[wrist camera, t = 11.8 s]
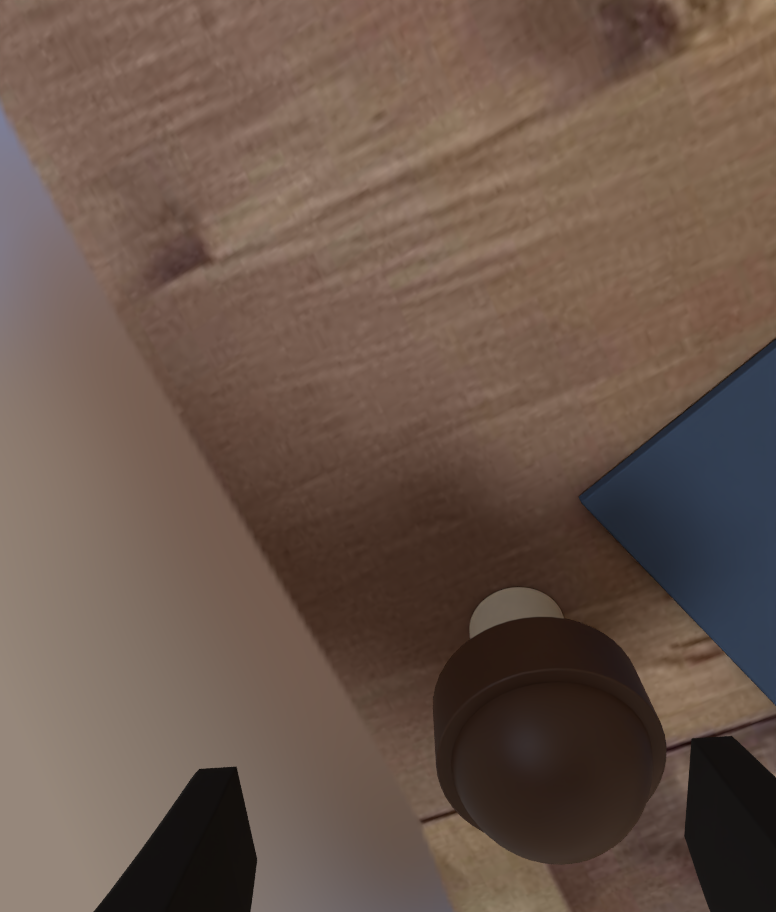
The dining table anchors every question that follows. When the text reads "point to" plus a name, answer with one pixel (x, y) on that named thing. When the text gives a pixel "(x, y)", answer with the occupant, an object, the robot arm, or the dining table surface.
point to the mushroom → (545, 732)
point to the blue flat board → (709, 514)
